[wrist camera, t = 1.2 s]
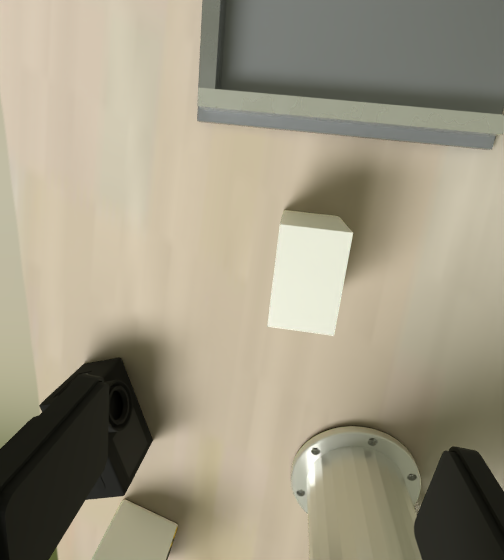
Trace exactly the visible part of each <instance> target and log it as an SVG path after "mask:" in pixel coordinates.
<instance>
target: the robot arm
mask: <svg viewBox="0 0 504 560" xmlns="http://www.w3.org/2000/svg"><path fill="white" fill-rule="evenodd" d="M108 427H109V384H107V383H105V382H104V378H103V377H100V376H95V375H90V374H85V373H83V374H81V375H79V376H78V377H77V378H76V379H75V380H74V381H73V382H72V383H71V384H70V385H69V386H68V387H67V388H66V389H65V390H64V391H63V392H62V393H61V394H60V395H59V396H58V397H57V398H56V399H55V400H54V401H53V402H52V403H51V404H50V405H49V406H48V407H47V408H46V409H45V410H44V411H43V412H42V413H41V414H40V415H39V416H36V417H33V418H32V419H31V420H30V421H28V422H27V423H26V425H24V426H23V427H22V428H21V429H20V430H19V431H18V432H17V433H16V434H15V435H14V436H13V437H12V438H11V439H10V440H9V441H8V442H7V443H6V444H5V445H4V446H3V447H2V448H1V449H0V560H49V558H50V557H51V555H52V553H53V552H54V550H55V548H56V547H57V545H58V544H59V542H60V540H61V539H62V537H63V535H64V534H65V532H66V531H67V529H68V527H69V526H70V524H71V522H72V521H73V519H74V518H75V516H76V514H77V513H78V511H79V509H80V508H81V506H82V505H83V503H84V501H85V500H86V498H87V496H88V495H89V493H90V492H91V490H92V488H93V487H94V485H95V483H96V482H97V480H98V479H99V477H100V475H101V474H102V472H103V470H104V468H105V466H106V463H107V459H108ZM291 486H292V490H293V494H294V496H295V498H296V500H297V502H298V504H299V505H300V506H301V507H302V509H303V510H304V511H305V512H306V513H307V514H308V538H309V560H504V491H503V490H502V488H501V487H500V485H499V483H498V482H497V480H496V479H495V477H494V476H493V474H492V472H491V471H490V469H489V468H488V466H487V465H486V463H485V461H484V460H483V458H482V457H481V455H480V454H479V453H478V452H477V451H474V450H469V449H464V448H459V447H451V448H450V449H449V451H444V452H443V454H442V456H441V458H440V461H439V463H438V465H437V468H436V470H435V473H434V475H433V478H432V480H431V483H430V485H429V488H428V490H427V492H426V495H425V497H424V500H423V502H422V505H421V507H420V510H419V512H418V514H416V511H415V508H414V506H415V504H416V502H417V500H418V498H419V494H420V490H421V477H420V474H419V470H418V467H417V465H416V463H415V460H414V458H413V456H412V455H411V454H410V452H409V451H408V449H407V448H406V447H405V446H404V445H402V444H401V443H400V442H399V441H398V440H396V439H395V438H393V437H392V436H390V435H388V434H386V433H383V432H381V431H378V430H375V429H371V428H366V427H357V426H348V427H338V428H334V429H330V430H327V431H325V432H322V433H320V434H318V435H316V436H314V437H313V438H311V439H310V440H309V441H307V442H306V443H305V444H304V445H303V446H302V447H301V448H300V450H299V451H298V453H297V455H296V456H295V458H294V461H293V464H292V471H291Z"/></svg>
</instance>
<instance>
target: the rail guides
mask: <svg viewBox="0 0 504 560" xmlns="http://www.w3.org/2000/svg"><path fill="white" fill-rule="evenodd" d="M226 5H227V0H203V2H202V23H201V44H200V65H199V85H198V107H200V108H201V109H203V110H208V111H218V112H229V113H239V114H250V115H261V116H271V117H282V118H292V119H303V120H314V121H324V122H335V123H346V124H356V125H367V126H377V127H388V128H399V129H409V130H420V131H430V132H441V133H452V134H462V135H473V136H484V137H491V136H497V135H503V133H504V115H501V114H490V113H479V112H468V111H456V110H445V109H434V108H423V107H412V106H400V105H389V104H378V103H367V102H356V101H344V100H333V99H322V98H311V97H300V96H288V95H277V94H266V93H255V92H244V91H232V90H221V81H222V66H223V51H224V35H225V20H226Z"/></svg>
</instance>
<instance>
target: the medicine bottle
mask: <svg viewBox="0 0 504 560" xmlns="http://www.w3.org/2000/svg"><path fill="white" fill-rule="evenodd" d="M177 528H178V525H177V524H176V523H174V522H172V521H170V520H168V519H166V518H164V517H162V516H160V515H158V514H155V513H153V512H151V511H149V510H147V509H145V508H143V507H141V506H139V505H136V504H134V503H132V502H130V501H128V500H126V499H125V500H123V501H122V502H121V504H120V506H119V507H118V509H117V511H116V513H115V515H114V517H113V519H112V521H111V523H110V525H109V527H108V529H107V531H106V532H105V534H104V536H103V538H102V540H101V542H100V544H99V546H98V548H97V550H96V552H95V554H94V556H93V557H92V559H91V560H167V559H168V556H169V553H170V550H171V547H172V544H173V541H174V538H175V534H176V531H177Z"/></svg>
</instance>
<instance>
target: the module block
mask: <svg viewBox="0 0 504 560" xmlns="http://www.w3.org/2000/svg"><path fill="white" fill-rule="evenodd" d="M352 237H353V232H352V231H351V230H350V229H349V227H348V226H347V225H346V224H345V223H344V222H343V221H342V219H341V218H340V217H339V216H334V215H325V214H316V213H307V212H299V211H290V210H284V211H283V215H282V219H281V222H280V228H279V236H278V244H277V252H276V261H275V269H274V277H273V285H272V293H271V301H270V309H269V317H268V325H267V327H274V328H281V329H289V330H296V331H303V332H310V333H317V334H324V335H331V336H334V333H335V327H336V322H337V317H338V311H339V306H340V301H341V295H342V290H343V285H344V279H345V274H346V269H347V263H348V258H349V253H350V247H351V242H352Z"/></svg>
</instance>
